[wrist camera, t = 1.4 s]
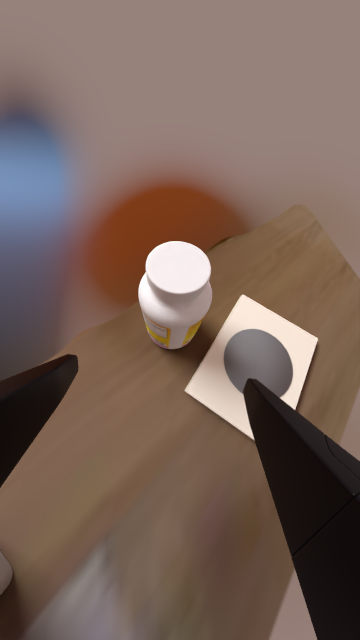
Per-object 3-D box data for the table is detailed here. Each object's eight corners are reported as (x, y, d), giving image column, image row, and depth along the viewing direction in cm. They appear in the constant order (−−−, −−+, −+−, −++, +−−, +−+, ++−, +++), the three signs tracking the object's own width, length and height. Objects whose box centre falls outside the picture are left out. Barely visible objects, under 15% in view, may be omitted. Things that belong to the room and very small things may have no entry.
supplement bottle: (192, 305, 26) (218, 232, 14) (197, 349, 23) (234, 306, 11) (147, 305, 25) (132, 229, 13) (147, 351, 22) (129, 308, 10)
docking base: (273, 454, 19) (280, 458, 18) (184, 391, 21) (185, 391, 20) (311, 340, 25) (318, 338, 24) (239, 298, 27) (243, 293, 25)
